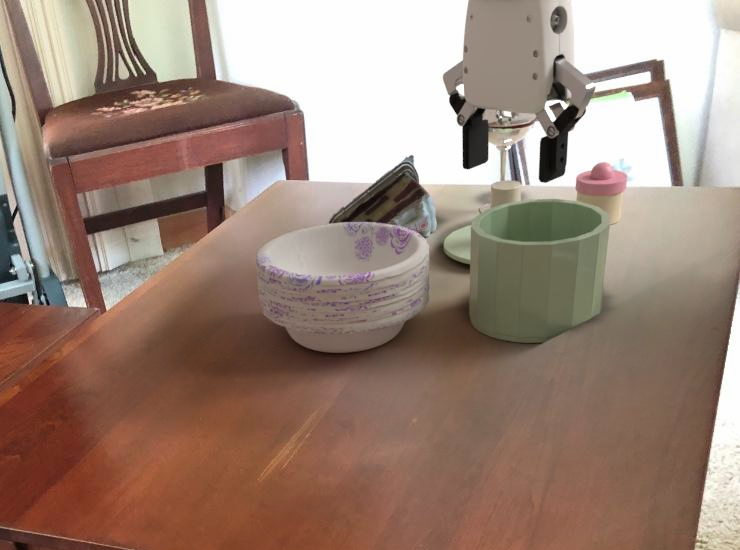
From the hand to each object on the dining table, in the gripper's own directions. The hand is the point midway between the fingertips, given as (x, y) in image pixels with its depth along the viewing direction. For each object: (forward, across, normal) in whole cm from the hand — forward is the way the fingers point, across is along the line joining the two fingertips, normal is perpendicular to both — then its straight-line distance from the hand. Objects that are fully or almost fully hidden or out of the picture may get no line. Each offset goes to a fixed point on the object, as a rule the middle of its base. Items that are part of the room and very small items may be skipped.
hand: (512, 171), depth 95 cm
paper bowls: (+8, -1, +24) cm, 26 cm away
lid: (+7, +1, 0) cm, 7 cm away
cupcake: (+8, -1, -13) cm, 15 cm away
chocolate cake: (+8, +14, +4) cm, 16 cm away
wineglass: (+8, +10, -10) cm, 16 cm away
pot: (+8, -12, +11) cm, 19 cm away
